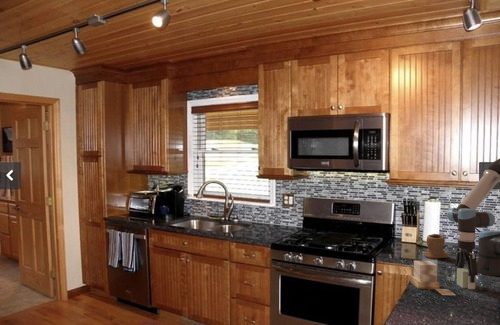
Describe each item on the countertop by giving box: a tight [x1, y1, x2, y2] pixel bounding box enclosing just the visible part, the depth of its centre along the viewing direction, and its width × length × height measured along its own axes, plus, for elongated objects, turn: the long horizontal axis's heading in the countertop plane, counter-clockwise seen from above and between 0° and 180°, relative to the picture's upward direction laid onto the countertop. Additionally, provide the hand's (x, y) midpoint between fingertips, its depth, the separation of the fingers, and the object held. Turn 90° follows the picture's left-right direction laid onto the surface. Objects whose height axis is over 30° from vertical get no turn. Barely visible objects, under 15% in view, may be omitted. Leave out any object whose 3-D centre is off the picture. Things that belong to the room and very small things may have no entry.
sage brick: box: [456, 267, 477, 289], centre depth 189 cm, size 6×6×8 cm
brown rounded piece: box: [422, 233, 450, 259], centre depth 244 cm, size 15×12×15 cm
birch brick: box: [413, 260, 438, 282], centre depth 190 cm, size 8×8×8 cm
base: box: [409, 275, 441, 290], centre depth 190 cm, size 11×11×3 cm
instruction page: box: [434, 288, 456, 296], centre depth 180 cm, size 6×8×1 cm
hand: (465, 285), depth 189 cm, fingers open, 9 cm apart
